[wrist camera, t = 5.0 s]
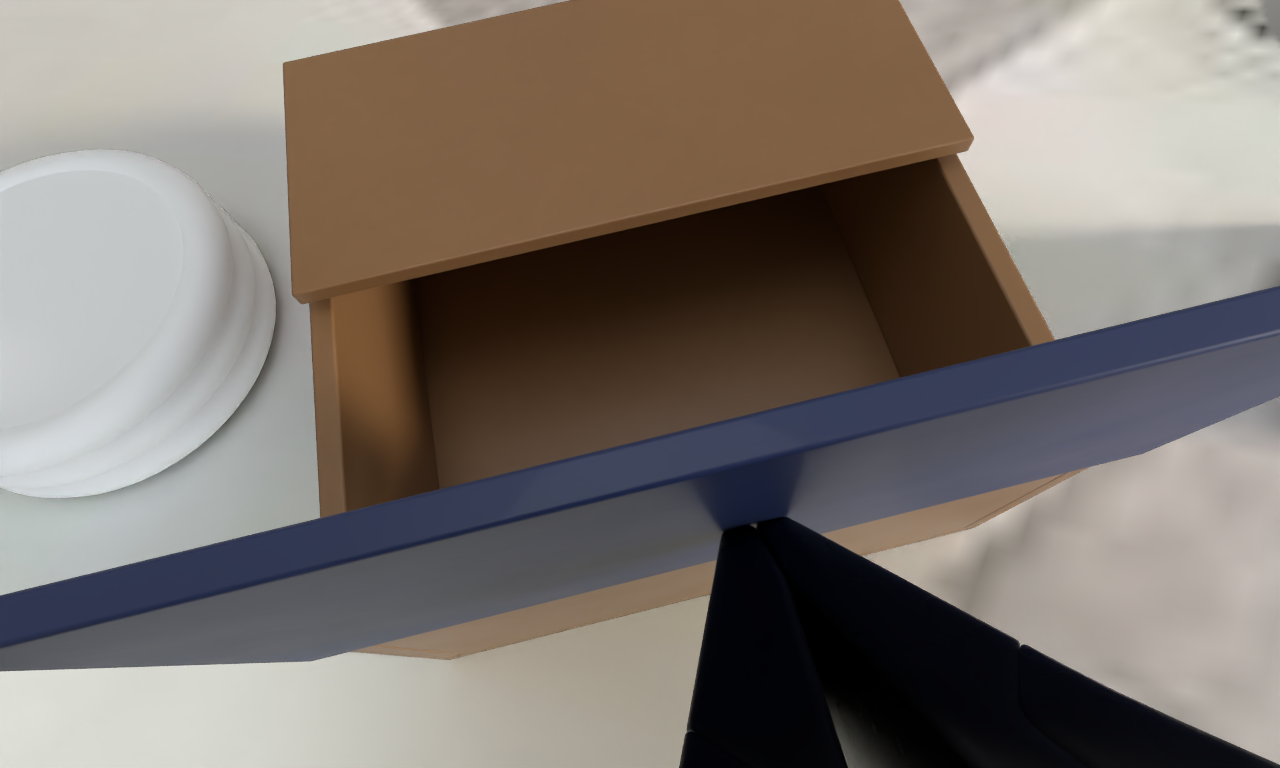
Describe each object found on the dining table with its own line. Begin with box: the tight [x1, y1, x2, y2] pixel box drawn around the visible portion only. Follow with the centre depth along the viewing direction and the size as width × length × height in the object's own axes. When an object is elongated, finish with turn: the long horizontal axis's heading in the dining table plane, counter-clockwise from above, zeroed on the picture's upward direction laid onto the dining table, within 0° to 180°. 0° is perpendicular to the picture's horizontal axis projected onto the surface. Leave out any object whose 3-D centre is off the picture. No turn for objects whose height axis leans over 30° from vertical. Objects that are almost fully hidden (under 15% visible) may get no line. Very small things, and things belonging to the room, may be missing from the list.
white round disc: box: [0, 149, 276, 498], centre depth 20 cm, size 10×10×4 cm
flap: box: [0, 286, 1280, 671], centre depth 8 cm, size 6×14×1 cm
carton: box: [283, 0, 1089, 660], centre depth 17 cm, size 13×14×7 cm
